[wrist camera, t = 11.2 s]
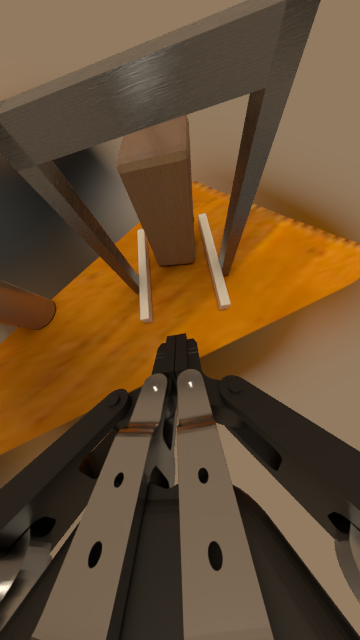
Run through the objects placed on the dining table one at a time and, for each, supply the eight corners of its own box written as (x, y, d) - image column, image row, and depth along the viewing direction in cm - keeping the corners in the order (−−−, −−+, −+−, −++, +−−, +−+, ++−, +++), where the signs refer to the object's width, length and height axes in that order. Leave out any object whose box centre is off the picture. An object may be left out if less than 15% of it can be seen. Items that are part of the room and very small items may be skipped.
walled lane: (144, 322, 31) (140, 319, 29) (141, 237, 40) (137, 230, 38) (228, 308, 29) (230, 304, 27) (205, 222, 38) (205, 213, 35)
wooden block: (194, 235, 37) (188, 106, 18) (194, 264, 34) (188, 146, 15) (160, 240, 38) (122, 124, 20) (158, 267, 36) (111, 164, 17)
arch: (136, 293, 34) (-28, 124, 10) (136, 284, 35) (-15, 107, 10) (228, 275, 32) (326, -17, 7) (225, 265, 33) (302, -23, 8)
